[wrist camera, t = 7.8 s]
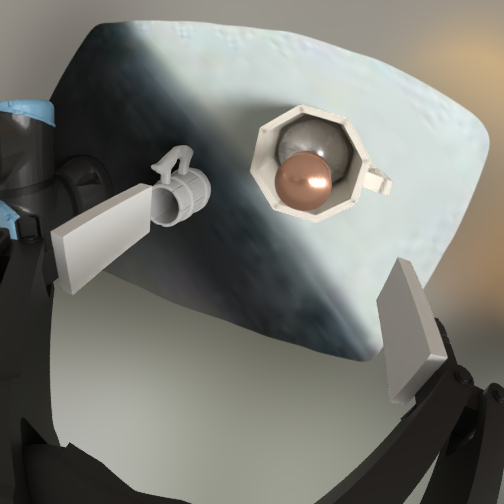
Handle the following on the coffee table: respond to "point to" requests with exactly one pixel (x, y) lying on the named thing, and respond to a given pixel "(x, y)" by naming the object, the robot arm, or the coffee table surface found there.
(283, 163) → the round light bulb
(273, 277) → the coffee table surface
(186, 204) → the mug
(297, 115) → the octagonal white cup
